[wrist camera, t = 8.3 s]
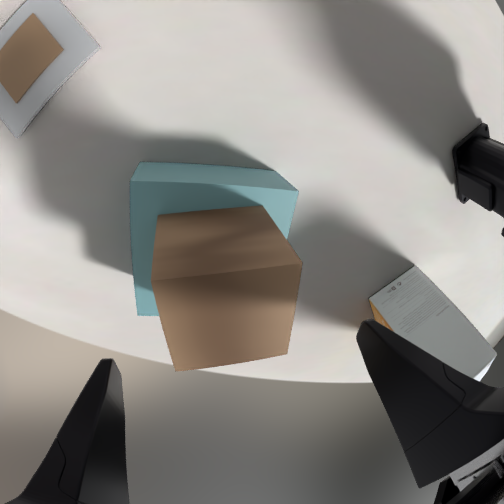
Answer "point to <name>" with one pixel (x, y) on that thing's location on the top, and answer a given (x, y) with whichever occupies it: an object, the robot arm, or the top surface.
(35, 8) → the tile
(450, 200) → the top surface
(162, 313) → the walnut cube
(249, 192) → the teal base block
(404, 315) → the small box
